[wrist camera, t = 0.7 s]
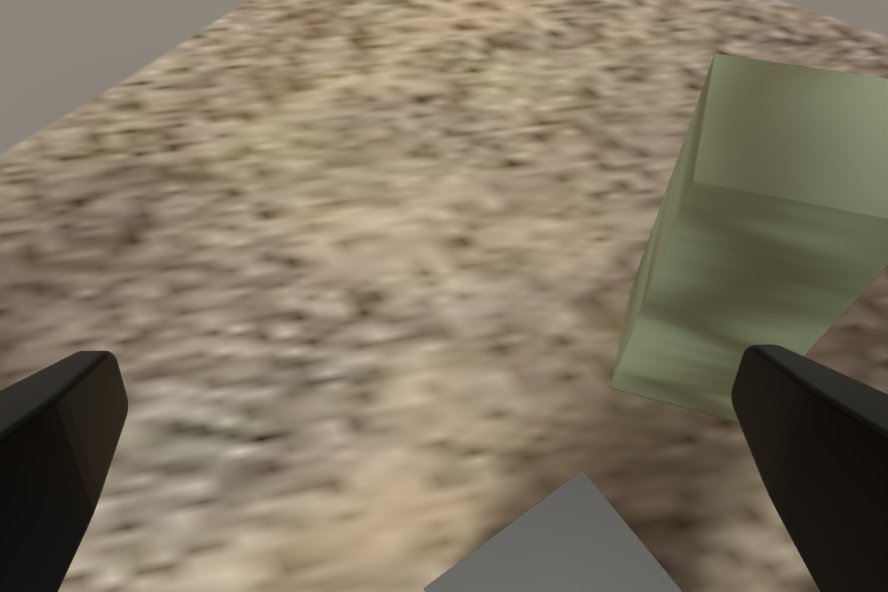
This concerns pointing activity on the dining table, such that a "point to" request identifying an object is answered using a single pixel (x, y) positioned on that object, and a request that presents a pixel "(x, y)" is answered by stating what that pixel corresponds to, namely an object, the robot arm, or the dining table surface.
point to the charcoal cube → (561, 551)
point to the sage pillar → (758, 228)
